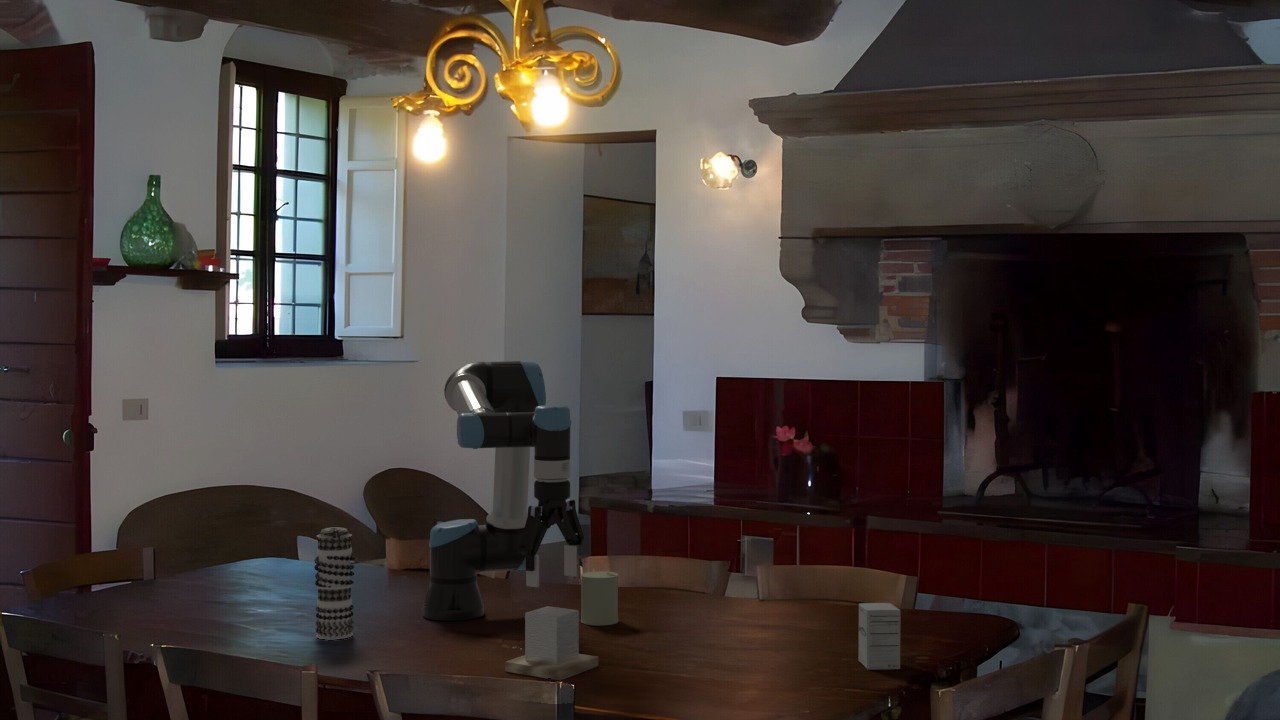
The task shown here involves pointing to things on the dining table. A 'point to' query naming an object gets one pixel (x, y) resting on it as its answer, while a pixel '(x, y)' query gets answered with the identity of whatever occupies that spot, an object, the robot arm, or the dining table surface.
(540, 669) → the post board
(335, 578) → the white and black cylinder
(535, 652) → the grey foam block
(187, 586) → the dining table surface
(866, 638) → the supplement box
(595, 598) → the can
